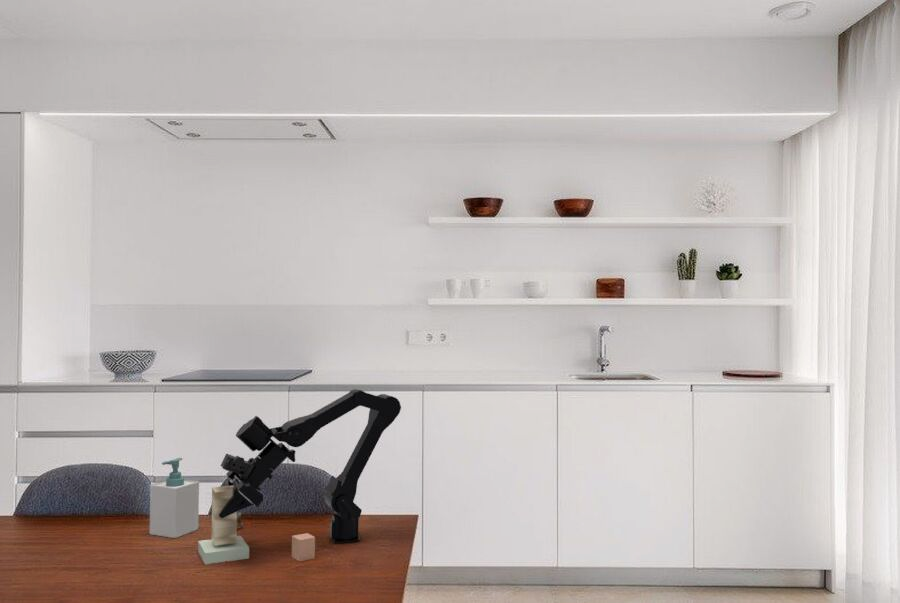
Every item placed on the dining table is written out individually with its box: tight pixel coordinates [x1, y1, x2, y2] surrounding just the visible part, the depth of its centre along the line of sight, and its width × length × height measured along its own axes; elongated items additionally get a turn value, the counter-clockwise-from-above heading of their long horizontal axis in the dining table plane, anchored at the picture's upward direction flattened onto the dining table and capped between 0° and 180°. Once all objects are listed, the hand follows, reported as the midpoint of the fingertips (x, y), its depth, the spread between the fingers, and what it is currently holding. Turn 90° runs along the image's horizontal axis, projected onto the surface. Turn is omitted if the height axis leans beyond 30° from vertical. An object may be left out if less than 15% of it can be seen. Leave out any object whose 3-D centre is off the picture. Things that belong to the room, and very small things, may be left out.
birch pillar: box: [211, 485, 238, 546], centre depth 174 cm, size 5×5×12 cm
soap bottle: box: [149, 457, 200, 539], centre depth 192 cm, size 9×9×19 cm
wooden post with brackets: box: [237, 511, 244, 530], centre depth 193 cm, size 2×8×4 cm, turn 143°
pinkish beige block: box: [291, 532, 316, 562], centre depth 173 cm, size 4×4×5 cm
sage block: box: [197, 535, 250, 565], centre depth 174 cm, size 10×10×3 cm
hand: (218, 514), depth 174 cm, fingers closed on birch pillar, 5 cm apart
